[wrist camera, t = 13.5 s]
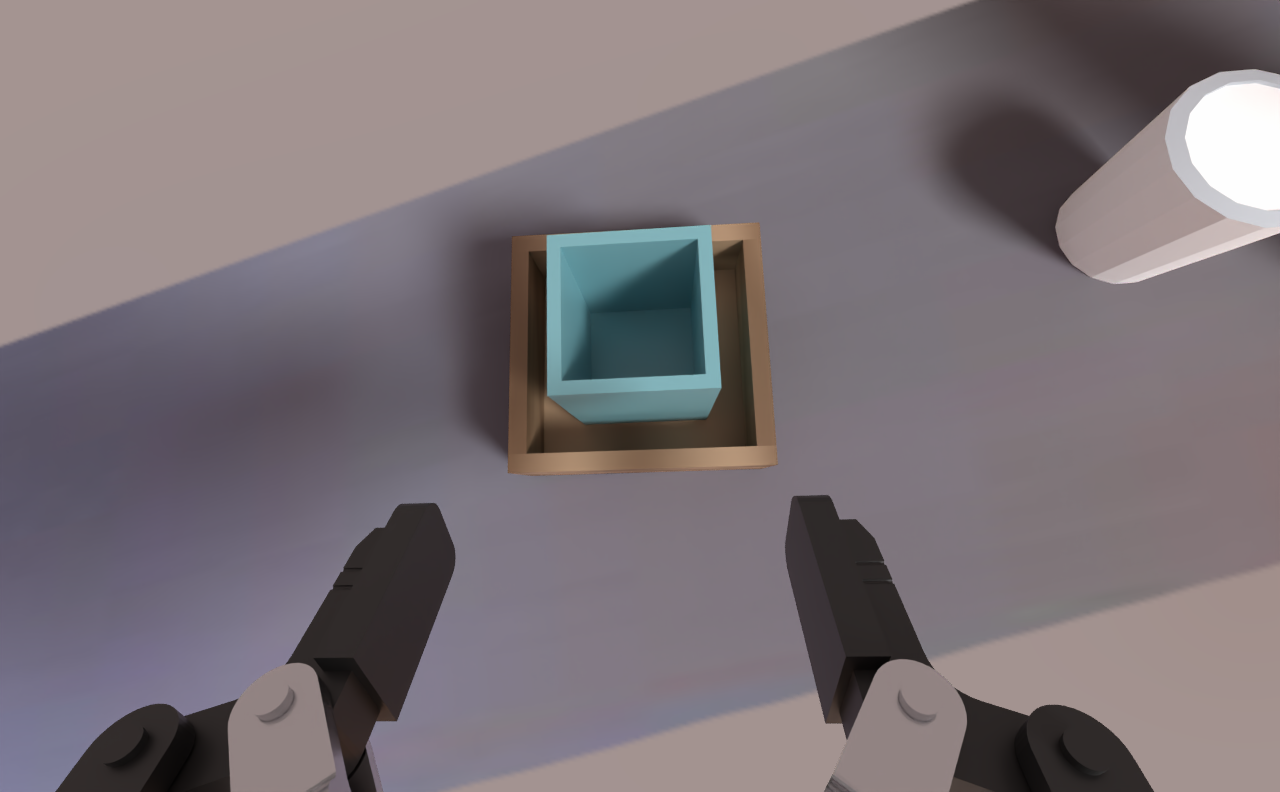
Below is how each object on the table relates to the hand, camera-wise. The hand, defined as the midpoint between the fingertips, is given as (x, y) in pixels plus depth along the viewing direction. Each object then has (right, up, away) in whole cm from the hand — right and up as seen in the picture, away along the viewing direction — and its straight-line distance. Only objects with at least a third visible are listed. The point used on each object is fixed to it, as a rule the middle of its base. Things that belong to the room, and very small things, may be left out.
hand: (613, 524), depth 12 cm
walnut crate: (+1, +5, +15) cm, 16 cm away
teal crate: (+1, +5, +14) cm, 15 cm away
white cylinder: (+25, +11, +15) cm, 31 cm away
